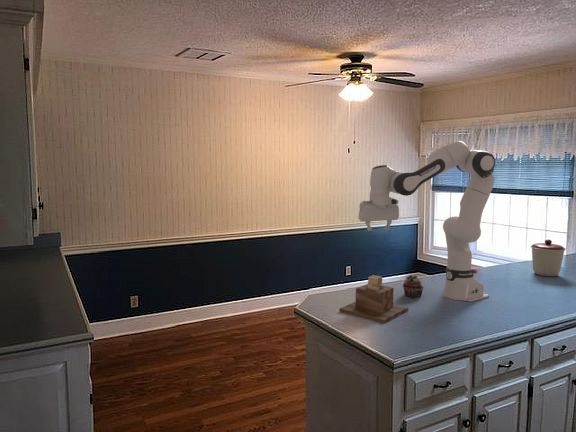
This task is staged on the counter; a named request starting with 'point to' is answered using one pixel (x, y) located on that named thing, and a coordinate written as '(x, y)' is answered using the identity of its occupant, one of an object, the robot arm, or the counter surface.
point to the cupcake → (412, 287)
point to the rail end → (375, 282)
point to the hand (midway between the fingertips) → (378, 230)
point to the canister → (547, 258)
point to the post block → (374, 304)
